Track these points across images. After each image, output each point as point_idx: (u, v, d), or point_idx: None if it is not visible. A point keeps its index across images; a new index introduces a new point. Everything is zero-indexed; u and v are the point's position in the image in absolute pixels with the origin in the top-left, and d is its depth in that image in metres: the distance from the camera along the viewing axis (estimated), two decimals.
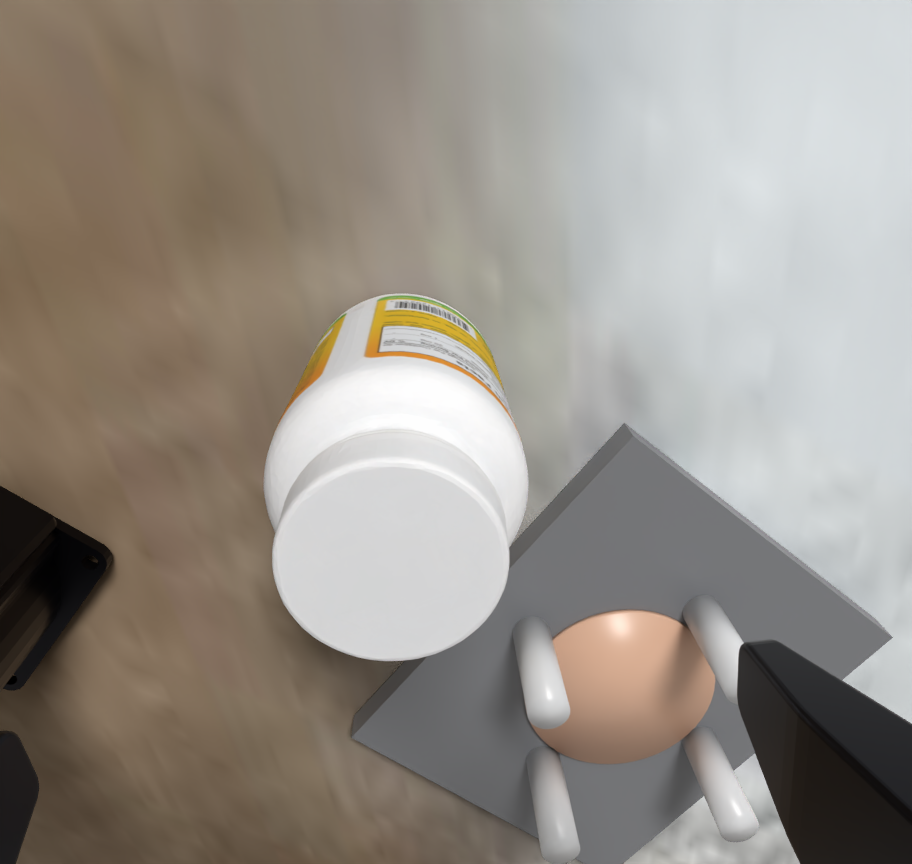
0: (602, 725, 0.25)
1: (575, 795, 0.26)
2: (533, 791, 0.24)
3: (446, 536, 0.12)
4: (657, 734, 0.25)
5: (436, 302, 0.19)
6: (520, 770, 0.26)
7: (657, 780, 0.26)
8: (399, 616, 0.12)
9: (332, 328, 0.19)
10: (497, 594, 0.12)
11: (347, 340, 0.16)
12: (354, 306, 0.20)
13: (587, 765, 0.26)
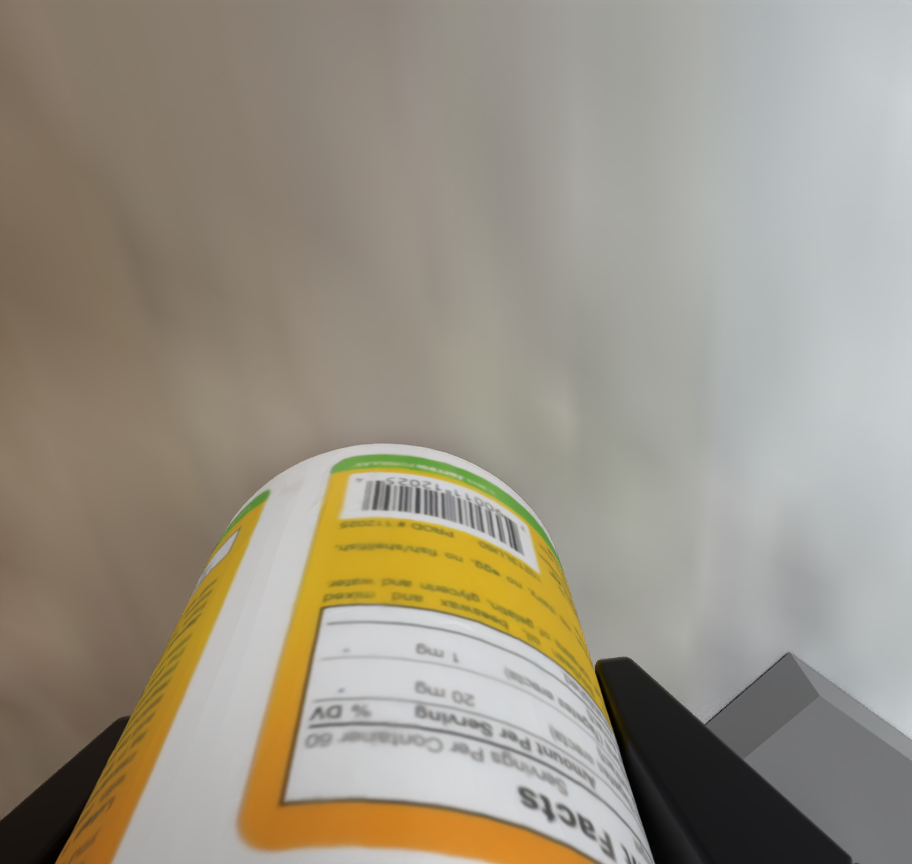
0: None
1: None
2: None
3: None
4: None
5: (451, 467, 0.10)
6: None
7: None
8: None
9: (235, 535, 0.09)
10: None
11: (230, 651, 0.06)
12: (288, 472, 0.10)
13: None
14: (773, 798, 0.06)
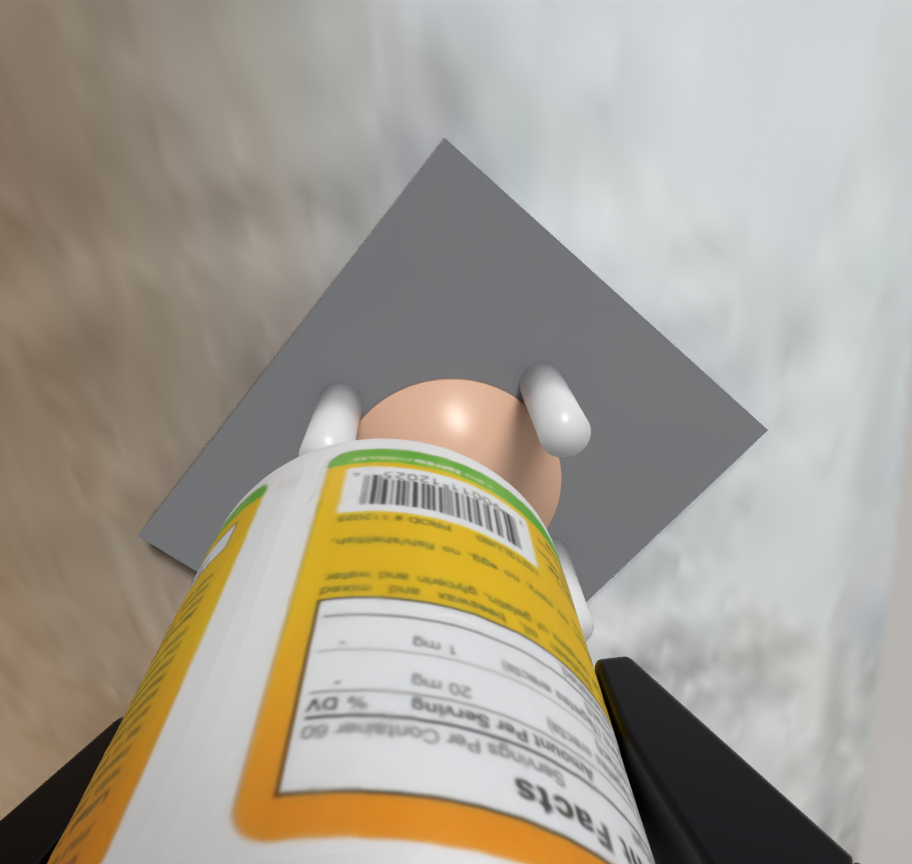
0: None
1: None
2: None
3: None
4: None
5: (449, 462, 0.10)
6: None
7: None
8: None
9: (232, 529, 0.09)
10: None
11: (227, 644, 0.06)
12: (285, 467, 0.10)
13: None
14: (773, 798, 0.06)
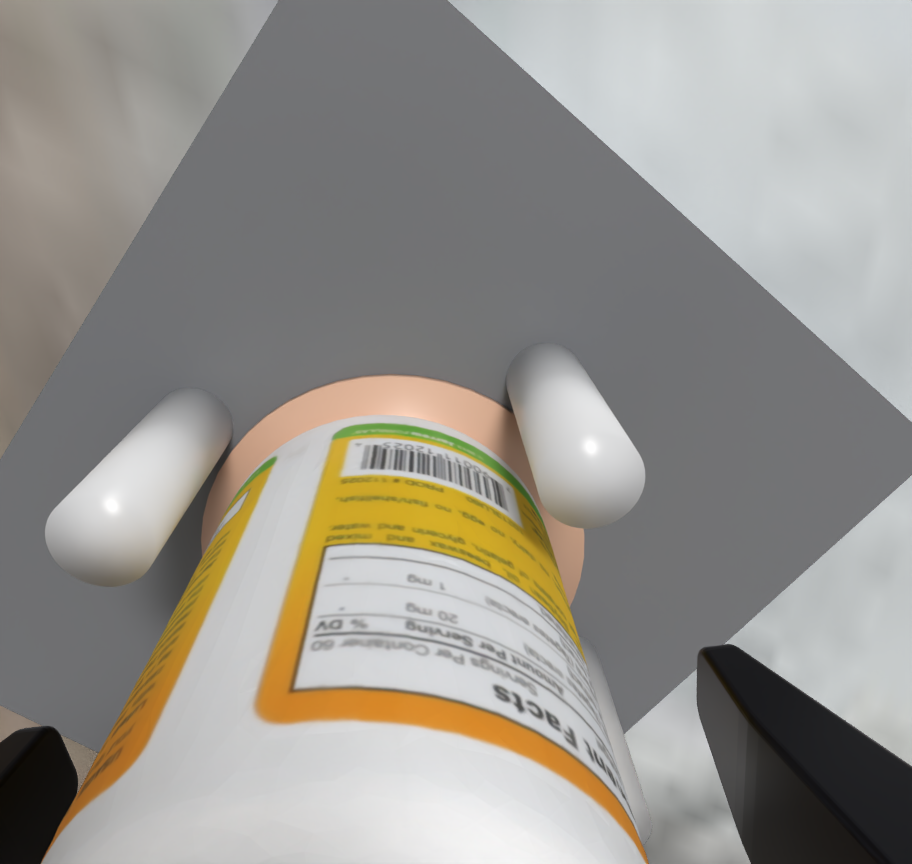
0: None
1: None
2: None
3: None
4: None
5: (443, 435, 0.10)
6: None
7: None
8: None
9: (245, 495, 0.10)
10: None
11: (244, 583, 0.07)
12: (293, 440, 0.11)
13: None
14: None
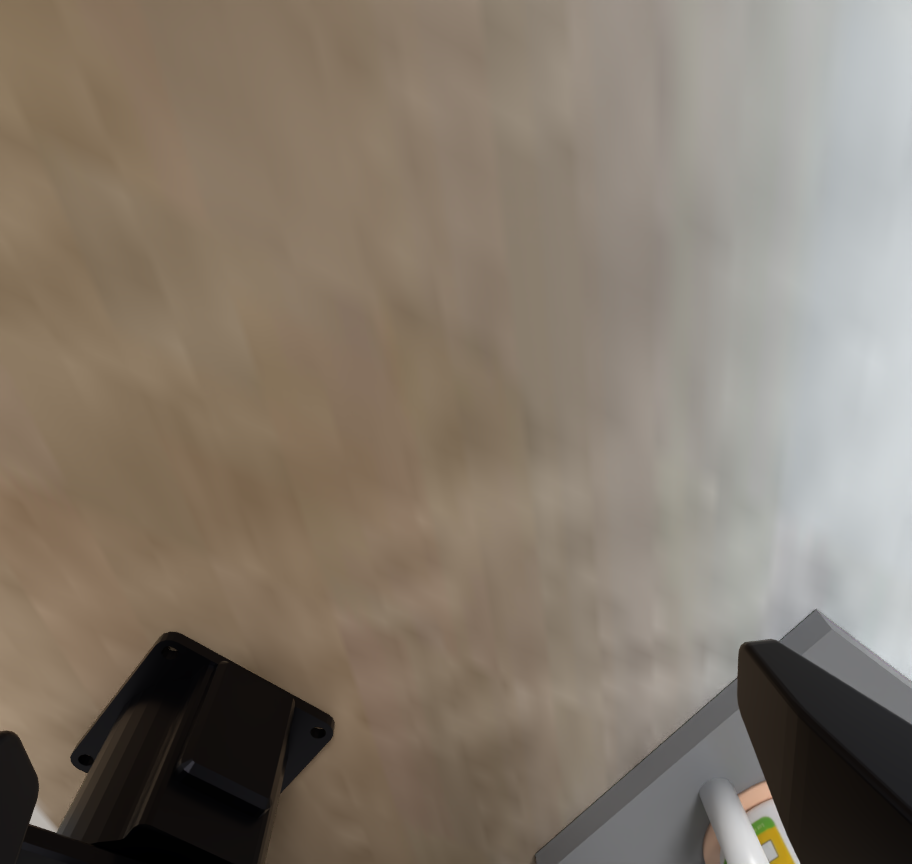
0: None
1: None
2: None
3: None
4: None
5: None
6: None
7: None
8: None
9: (771, 844, 0.24)
10: None
11: None
12: (773, 807, 0.24)
13: None
14: None
